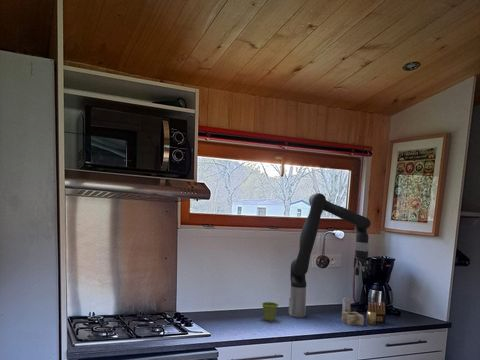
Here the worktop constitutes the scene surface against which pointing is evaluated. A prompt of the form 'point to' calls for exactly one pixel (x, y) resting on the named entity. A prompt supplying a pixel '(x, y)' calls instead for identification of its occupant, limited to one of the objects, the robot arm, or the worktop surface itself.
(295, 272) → the robot arm
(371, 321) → the round bit
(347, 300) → the square bit
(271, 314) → the plant pot
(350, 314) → the bit holder
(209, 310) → the worktop surface
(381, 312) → the ammunition clip
